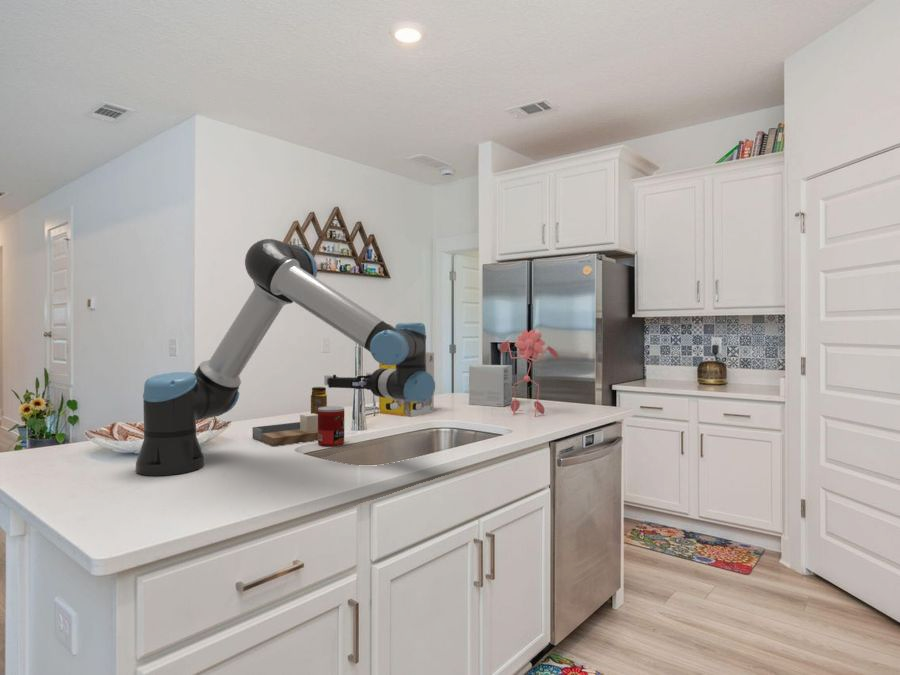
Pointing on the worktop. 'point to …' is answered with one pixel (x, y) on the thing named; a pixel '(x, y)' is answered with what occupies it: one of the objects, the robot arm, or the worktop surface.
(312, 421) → the off-white block
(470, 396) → the supplement box
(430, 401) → the packaging box
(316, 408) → the condiment
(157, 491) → the worktop surface
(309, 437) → the board
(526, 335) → the pink wire stick figure
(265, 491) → the worktop surface
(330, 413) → the canned food
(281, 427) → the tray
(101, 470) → the worktop surface
